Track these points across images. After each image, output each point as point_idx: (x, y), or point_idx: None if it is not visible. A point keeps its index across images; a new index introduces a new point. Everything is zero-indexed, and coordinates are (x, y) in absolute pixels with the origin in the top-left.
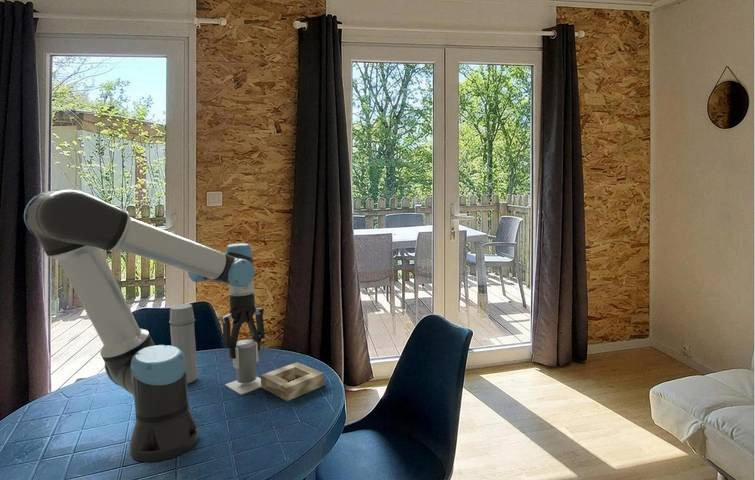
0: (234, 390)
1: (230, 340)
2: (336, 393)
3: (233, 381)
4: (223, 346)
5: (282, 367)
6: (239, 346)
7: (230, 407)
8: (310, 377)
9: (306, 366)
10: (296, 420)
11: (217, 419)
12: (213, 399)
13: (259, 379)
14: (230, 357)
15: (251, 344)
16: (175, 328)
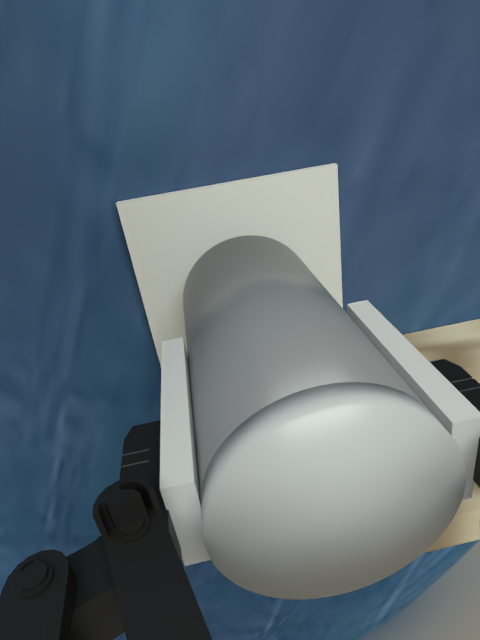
0: (149, 324)
1: (129, 631)
2: (468, 544)
3: (182, 192)
4: (17, 567)
5: (470, 368)
6: (232, 575)
7: (84, 468)
8: (466, 536)
9: None
10: (261, 623)
11: (10, 530)
12: (13, 351)
13: (328, 274)
14: (130, 434)
15: (367, 584)
16: None
